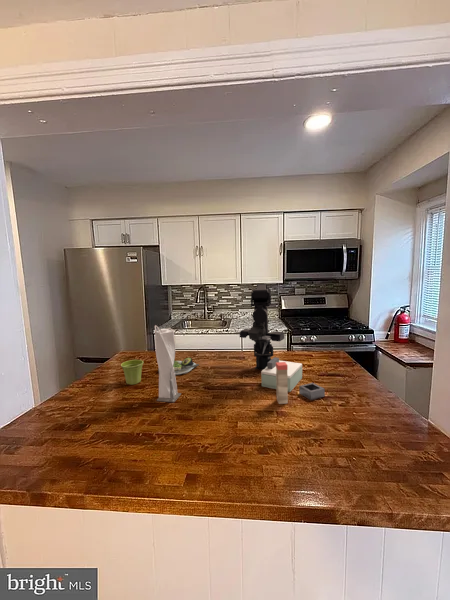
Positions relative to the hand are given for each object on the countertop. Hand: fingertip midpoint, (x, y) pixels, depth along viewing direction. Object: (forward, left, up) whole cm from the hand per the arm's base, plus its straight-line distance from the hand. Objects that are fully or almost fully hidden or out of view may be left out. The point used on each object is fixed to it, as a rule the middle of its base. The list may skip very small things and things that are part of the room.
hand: (261, 354), depth 123 cm
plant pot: (-49, -29, -11) cm, 58 cm away
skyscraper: (-25, -33, -11) cm, 43 cm away
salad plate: (-42, -7, -12) cm, 44 cm away
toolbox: (+9, 0, -11) cm, 14 cm away
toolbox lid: (+9, 0, -6) cm, 11 cm away
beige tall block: (+15, -17, -11) cm, 25 cm away
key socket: (+23, -7, -11) cm, 26 cm away
